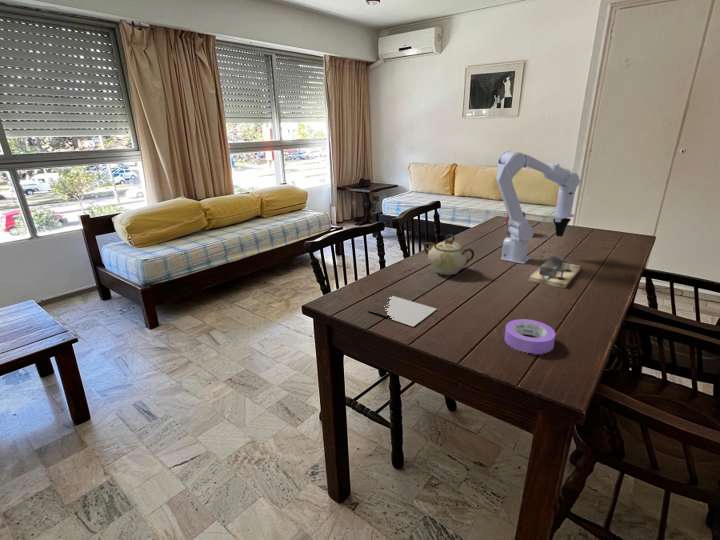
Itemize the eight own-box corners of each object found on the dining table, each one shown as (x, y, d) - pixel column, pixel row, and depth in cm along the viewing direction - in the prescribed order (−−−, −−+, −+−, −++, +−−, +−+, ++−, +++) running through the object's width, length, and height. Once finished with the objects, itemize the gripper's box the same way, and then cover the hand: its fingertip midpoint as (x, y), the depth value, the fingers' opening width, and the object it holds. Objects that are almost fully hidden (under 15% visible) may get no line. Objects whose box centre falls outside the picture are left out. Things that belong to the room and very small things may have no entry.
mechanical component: (522, 231, 199) (526, 236, 190) (502, 231, 201) (505, 236, 192) (525, 208, 194) (529, 212, 185) (504, 208, 196) (507, 212, 187)
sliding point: (546, 266, 143) (547, 258, 141) (548, 264, 145) (550, 256, 144) (568, 270, 138) (570, 262, 137) (570, 268, 140) (572, 260, 139)
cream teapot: (477, 269, 148) (480, 232, 143) (466, 282, 136) (469, 242, 131) (430, 262, 158) (431, 227, 153) (415, 273, 146) (416, 236, 141)
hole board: (528, 280, 136) (530, 267, 134) (546, 263, 153) (548, 251, 151) (565, 288, 129) (567, 274, 127) (580, 269, 145) (582, 256, 144)
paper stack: (407, 288, 133) (407, 286, 133) (475, 306, 118) (475, 304, 118) (366, 312, 116) (366, 310, 116) (439, 337, 101) (439, 335, 101)
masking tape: (503, 350, 95) (505, 337, 94) (504, 328, 105) (506, 316, 104) (555, 358, 91) (558, 345, 90) (551, 335, 101) (553, 322, 100)
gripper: (571, 207, 143) (565, 241, 148) (580, 201, 153) (574, 233, 158) (551, 205, 147) (546, 238, 152) (561, 199, 158) (556, 231, 162)
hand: (559, 236), depth 155 cm, fingers closed
